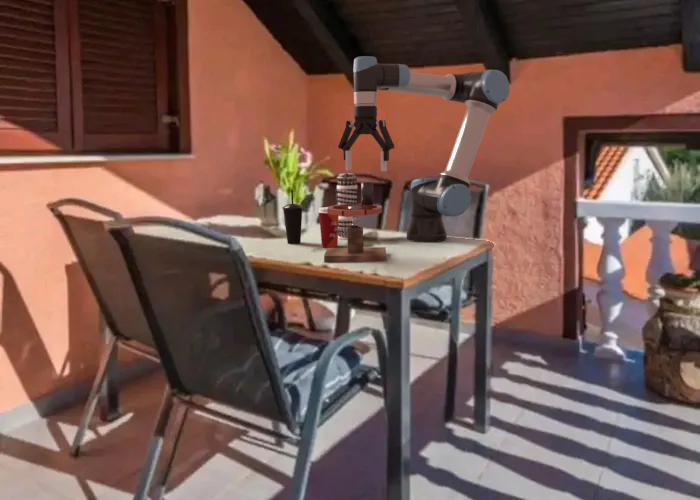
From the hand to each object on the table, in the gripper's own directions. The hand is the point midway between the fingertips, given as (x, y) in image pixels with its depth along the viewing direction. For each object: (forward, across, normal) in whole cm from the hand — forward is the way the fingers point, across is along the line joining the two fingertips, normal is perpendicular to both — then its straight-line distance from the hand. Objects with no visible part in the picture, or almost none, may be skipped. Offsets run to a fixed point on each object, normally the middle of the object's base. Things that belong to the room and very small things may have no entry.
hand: (366, 170), depth 224 cm
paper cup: (+28, +19, -6) cm, 35 cm away
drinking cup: (+28, +35, -6) cm, 45 cm away
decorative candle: (+28, +23, -24) cm, 44 cm away
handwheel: (+19, 0, +8) cm, 20 cm away
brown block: (+28, 0, +8) cm, 29 cm away
